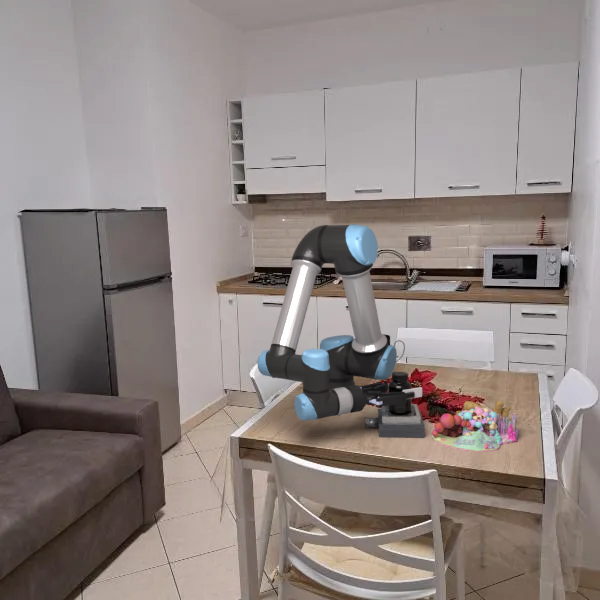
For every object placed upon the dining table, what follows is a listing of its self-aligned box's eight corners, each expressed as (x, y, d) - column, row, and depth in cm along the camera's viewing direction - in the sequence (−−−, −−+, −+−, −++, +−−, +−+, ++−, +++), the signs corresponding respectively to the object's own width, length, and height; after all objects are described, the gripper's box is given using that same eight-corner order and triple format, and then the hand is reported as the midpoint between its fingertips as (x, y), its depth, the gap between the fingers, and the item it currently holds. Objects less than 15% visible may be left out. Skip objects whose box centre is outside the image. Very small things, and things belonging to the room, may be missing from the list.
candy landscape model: (439, 416, 179) (439, 389, 177) (517, 425, 170) (518, 396, 169) (427, 447, 156) (427, 416, 154) (517, 458, 147) (518, 425, 146)
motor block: (365, 436, 163) (365, 417, 162) (365, 420, 176) (364, 402, 175) (424, 438, 161) (424, 418, 160) (419, 421, 174) (419, 403, 173)
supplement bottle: (415, 411, 167) (416, 373, 166) (403, 417, 163) (403, 378, 161) (396, 406, 172) (396, 369, 170) (383, 412, 167) (384, 373, 165)
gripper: (331, 402, 169) (395, 391, 178) (364, 423, 151) (434, 410, 160) (331, 378, 168) (395, 368, 177) (364, 397, 150) (434, 385, 159)
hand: (413, 388), depth 168 cm, fingers closed on supplement bottle, 7 cm apart
